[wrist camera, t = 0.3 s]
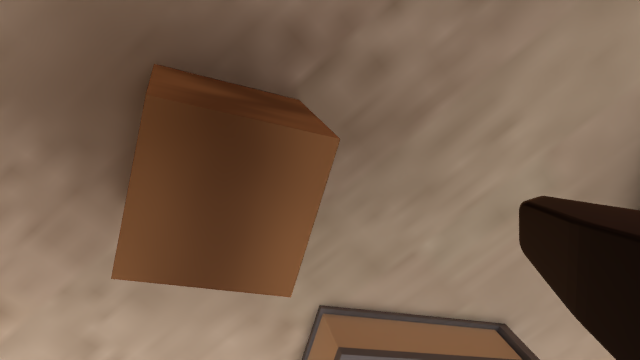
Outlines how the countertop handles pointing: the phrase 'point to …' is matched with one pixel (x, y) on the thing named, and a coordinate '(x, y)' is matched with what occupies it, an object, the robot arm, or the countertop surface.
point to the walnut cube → (222, 186)
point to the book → (408, 337)
